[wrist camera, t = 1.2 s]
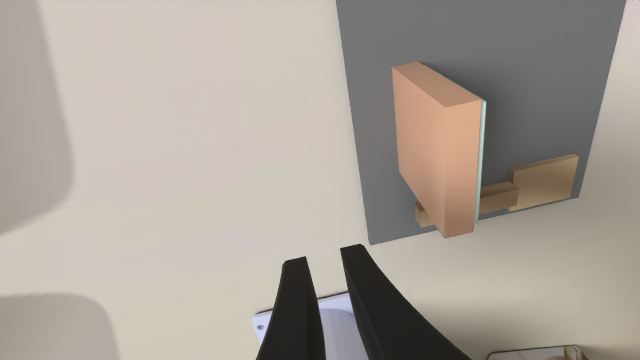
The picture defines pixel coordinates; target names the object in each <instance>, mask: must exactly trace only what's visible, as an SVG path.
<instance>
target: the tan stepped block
mask: <svg viewBox="0 0 640 360" xmlns="http://www.w3.org/2000/svg"><path fill="white" fill-rule="evenodd" d="M578 159H579V156H577V155H575V154H571V155H566V156H562V157H558V158H553V159H549V160H544V161H540V162H536V163H531V164H527V165H522V166H518V167H514V168H510V176H509V181H506V182H501V183H497V184H493V185H488V186H484V187H480V201H479V214H482V213H487V212H491V211H495V210H500V209H504V208H506V209H507V210H508V211H509V212H510V211H515V210H519V209H523V208H528V207H532V206H536V205H540V204H545V203H549V202H553V201H558V200H562V199H566V198H570V194H571V190H572V186H573V181H574V177H575V172H576V168H577V164H578ZM414 208H415V219H416V220H417V222H418V224H419V225H420V227H421V228H422V227H426V226H430V225H435V224H434V223H433V221H432V220H431V218H430V217H429V215H428V214H427V212H426V211H425V209H424V208H423V206H422V205H421V203H420V202H419V201H418V202H414Z"/></svg>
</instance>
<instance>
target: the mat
mask: <svg viewBox="0 0 640 360" xmlns="http://www.w3.org/2000/svg"><path fill="white" fill-rule="evenodd" d="M625 3H626V0H336V4H337V11H338V18H339V26H340V33H341V40H342V48H343V55H344V62H345V70H346V77H347V84H348V91H349V99H350V106H351V113H352V121H353V128H354V135H355V143H356V150H357V157H358V165H359V172H360V179H361V186H362V194H363V201H364V208H365V216H366V223H367V230H368V238H369V243H370V245H374V244H378V243H383V242H387V241H391V240H396V239H400V238H404V237H409V236H413V235H417V234H422V233H426V232H430V231H435V230H438V228H437V227H436V226H435V225H430V226H426V227H422V228H421V227H420V225H419V224H418V222H417V220H416V219H415V208H414V202H418V201H419V200H418V199H417V197H416V196H415V194H414V193H413V192H412V190H411V189H410V187H409V186H408V184H407V183H406V181H405V180H404V178H403V177H402V175H401V174H400V172H399V163H398V149H397V134H396V120H395V106H394V92H393V77H392V67H394V66H399V65H404V64H408V63H413V62H419V63H421V64H423V65H426V66H427V67H429V68H431V69H432V70H434V71H436V72H437V73H439V74H441V75H443V76H444V77H446V78H448V79H449V80H451V81H453V82H454V83H456V84H458V85H459V86H461V87H463V88H464V89H466V90H468V91H470V92H471V93H473V94H475V95H476V96H478V97H480V98H481V99H483V100H485V101H486V113H485V128H484V142H483V157H482V172H481V186H480V187H484V186H488V185H493V184H497V183H501V182H506V181H509V176H510V168H514V167H518V166H522V165H527V164H531V163H536V162H540V161H544V160H549V159H553V158H558V157H562V156H566V155H571V154H575V155H577V156H579V159H578V164H577V168H576V172H575V177H574V181H573V186H572V190H571V194H570V198H566V199H562V200H558V201H553V202H549V203H545V204H540V205H536V206H532V207H528V208H523V209H519V210H515V211H510V212H509V211H508V210H507V209H506V208H504V209H500V210H495V211H491V212H487V213H482V214H479V215H478V220H482V219H487V218H491V217H495V216H500V215H504V214H508V213H513V212H517V211H521V210H526V209H530V208H534V207H539V206H543V205H547V204H552V203H556V202H560V201H565V200H569V199H573V198H577V197H579V193H580V189H581V185H582V181H583V177H584V173H585V168H586V164H587V160H588V156H589V152H590V148H591V144H592V139H593V135H594V131H595V127H596V123H597V119H598V115H599V111H600V106H601V102H602V98H603V94H604V90H605V86H606V82H607V78H608V73H609V69H610V65H611V61H612V57H613V53H614V49H615V45H616V40H617V36H618V32H619V28H620V24H621V20H622V16H623V11H624V7H625Z"/></svg>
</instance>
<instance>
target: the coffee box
mask: <svg viewBox="0 0 640 360" xmlns="http://www.w3.org/2000/svg"><path fill="white" fill-rule="evenodd" d="M488 360H589V359H588V358H587V357H586V356H585V355H584V353H583V352H582V351H581V350H580V349H579V347H578V346H577V345H571V346H561V347H551V348H542V349H532V350H522V351H512V352H503V353H493V354H491V355H490V357H489V359H488Z"/></svg>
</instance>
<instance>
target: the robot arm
mask: <svg viewBox="0 0 640 360" xmlns="http://www.w3.org/2000/svg"><path fill="white" fill-rule="evenodd" d="M340 251H341V256H342V261H343V266H344V271H345V277H346V282H347V287H348V292H349V293H345V294H340V295H336V296H332V297H328V298H323V299H319V300H317V297H316V293H315V289H314V286H313V282H312V278H311V274H310V271H309V267H308V263H307V259H306V256H305V257H300V258H296V259H292V260H287V261H285V262H284V264H283V266H282V274H281V279H280V284H279V289H278V293H277V297H276V301H275V304H274V308H273V310H272V311H268V312H264V313H259V314H256V315H254V316H253V317H252V325H253V327H254V330H255V332H256V334H257V337H258V339H259V341H260V344H261V347H260V350H259V353H258V356H257V358H256V360H472V359H470V358H469V357H468V356H467V355H466V354H464V353H463V352H462V351H461V350H459V349H458V348H457V347H456V346H455V345H453V344H452V343H451V342H450V341H449V340H448V339H447V338H445V337H444V336H443V335H442V334H441V333H440V332H439V331H438V330H437V329H435V328H434V327H433V326H432V325H431V324H430V323H429V322H428V321H427V320H426V319H425V318H424V317H423V316H422V315H421V314H420V313H419V312H418V311H417V310H416V309H415V308H414V307H413V306H412V305H411V304H410V303H409V302H408V301H407V300H406V299H405V298H404V297H403V295H402V294H401V293H400V292H399V291H398V290H397V289H396V288H395V286H394V285H393V284H392V283H391V282H390V281H389V280H388V278H387V277H386V276H385V275H384V273H383V272H382V271H381V270H380V268H379V267H378V266H377V264H376V263H375V262H374V260H373V259H372V258H371V256H370V255H369V253H368V252H367V250H366V248H365V247H364V246H363V245H362V244H357V245H352V246H348V247H344V248H340Z"/></svg>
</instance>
